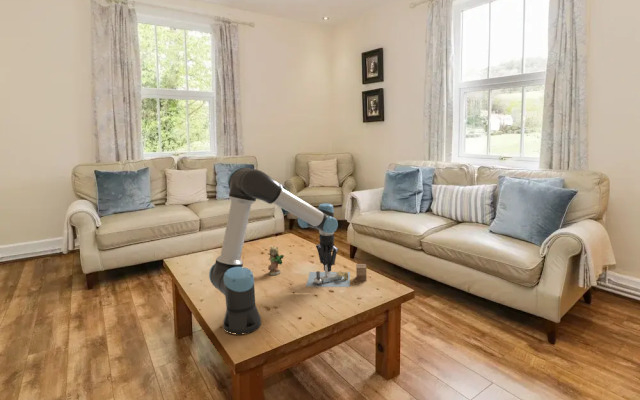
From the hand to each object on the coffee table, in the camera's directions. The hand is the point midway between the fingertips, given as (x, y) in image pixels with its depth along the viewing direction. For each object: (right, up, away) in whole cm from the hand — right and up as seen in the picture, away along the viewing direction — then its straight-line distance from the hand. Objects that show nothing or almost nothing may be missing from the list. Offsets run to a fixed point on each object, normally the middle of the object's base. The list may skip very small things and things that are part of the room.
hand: (327, 276), depth 194 cm
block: (+18, -2, -1) cm, 18 cm away
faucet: (0, -1, -3) cm, 3 cm away
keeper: (+8, -2, -1) cm, 8 cm away
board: (+1, -2, 0) cm, 2 cm away
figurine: (-28, -1, +12) cm, 31 cm away
